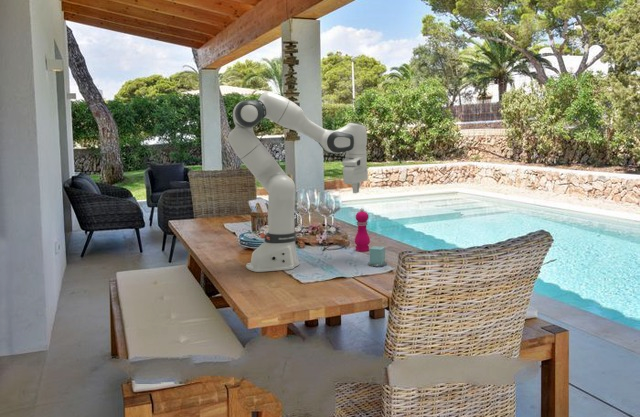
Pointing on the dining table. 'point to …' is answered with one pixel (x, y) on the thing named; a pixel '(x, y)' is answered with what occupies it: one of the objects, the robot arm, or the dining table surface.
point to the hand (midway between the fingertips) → (355, 193)
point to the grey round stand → (377, 265)
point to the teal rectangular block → (377, 255)
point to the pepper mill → (362, 232)
